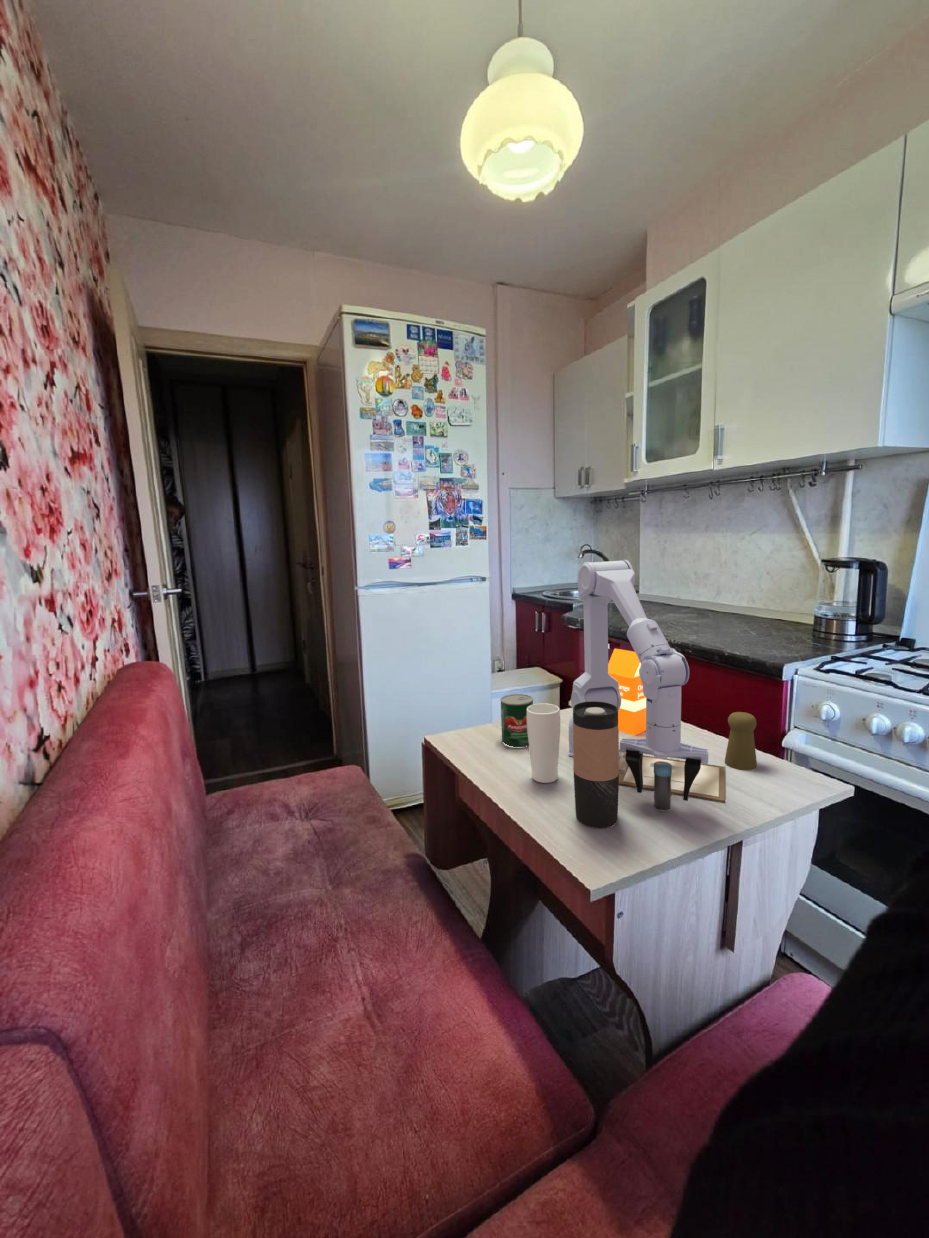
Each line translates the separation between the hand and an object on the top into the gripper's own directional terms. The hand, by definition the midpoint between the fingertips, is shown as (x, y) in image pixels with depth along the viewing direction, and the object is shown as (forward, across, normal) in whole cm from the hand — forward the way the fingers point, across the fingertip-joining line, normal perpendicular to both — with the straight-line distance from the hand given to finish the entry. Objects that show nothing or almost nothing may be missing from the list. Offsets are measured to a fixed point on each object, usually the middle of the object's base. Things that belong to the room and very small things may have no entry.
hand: (662, 794), depth 91 cm
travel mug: (+3, -10, -8) cm, 13 cm away
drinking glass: (+3, -23, +3) cm, 23 cm away
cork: (+3, +13, +24) cm, 27 cm away
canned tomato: (+3, -35, +19) cm, 40 cm away
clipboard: (+2, 0, +13) cm, 13 cm away
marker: (+2, 0, 0) cm, 2 cm away
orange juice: (+3, -12, +38) cm, 40 cm away
